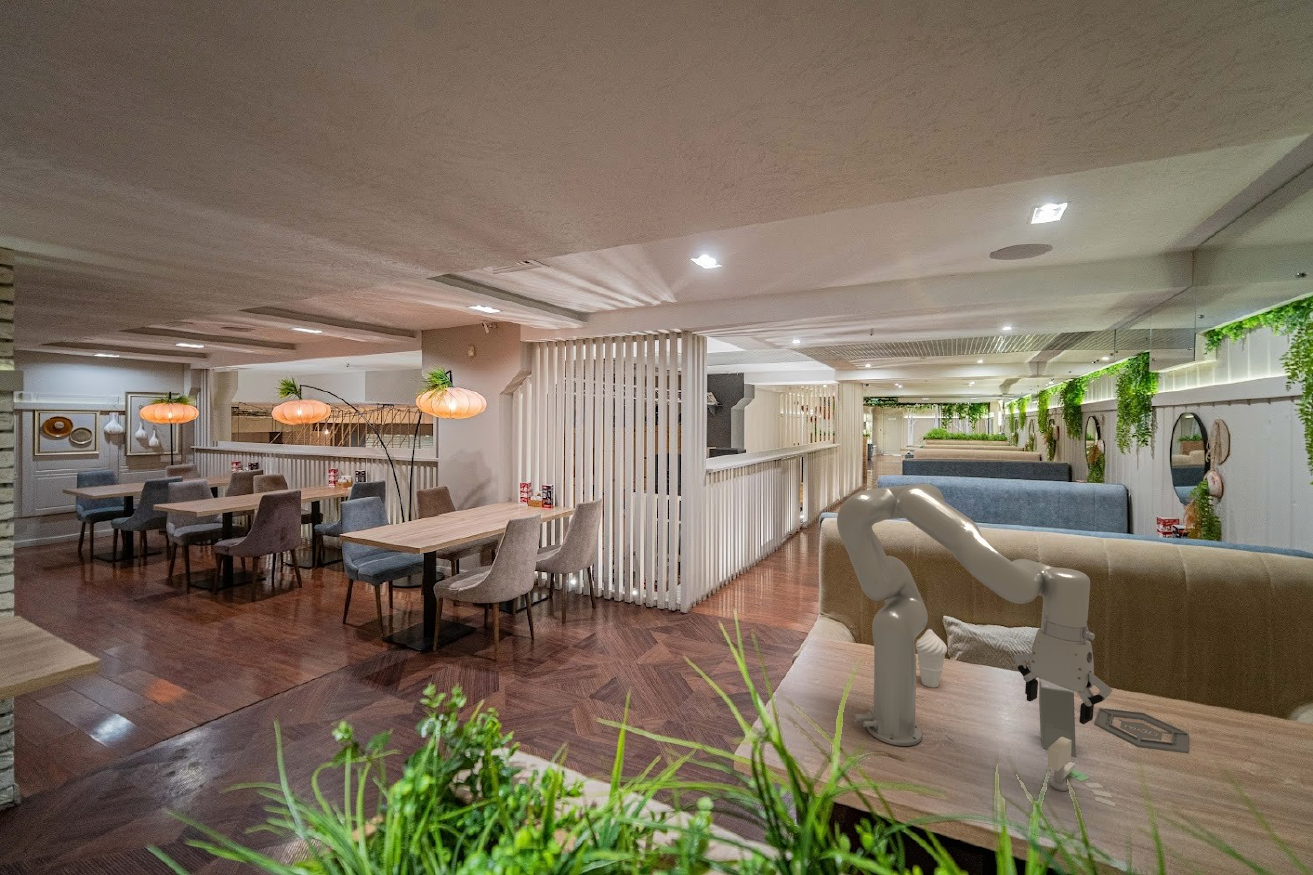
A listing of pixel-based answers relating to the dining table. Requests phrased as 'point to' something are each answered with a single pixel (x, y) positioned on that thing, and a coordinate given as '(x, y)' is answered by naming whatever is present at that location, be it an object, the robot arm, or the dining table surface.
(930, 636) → the soft serve ice cream cone
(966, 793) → the dining table surface
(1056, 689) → the skincare box
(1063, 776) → the beige block on stand
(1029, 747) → the dining table surface
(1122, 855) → the dining table surface
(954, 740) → the dining table surface
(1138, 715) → the grey hexagonal plate
